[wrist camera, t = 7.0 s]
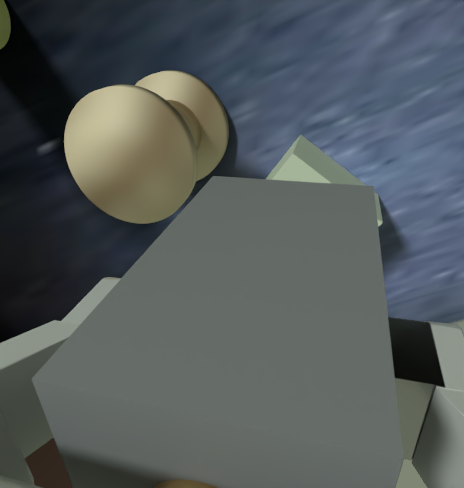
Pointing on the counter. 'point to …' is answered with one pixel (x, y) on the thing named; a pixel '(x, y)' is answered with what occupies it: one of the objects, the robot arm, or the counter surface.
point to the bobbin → (145, 144)
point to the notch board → (314, 168)
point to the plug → (237, 351)
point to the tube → (4, 24)
